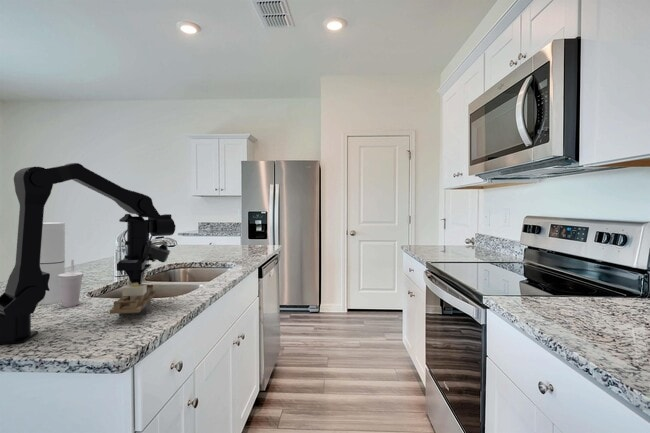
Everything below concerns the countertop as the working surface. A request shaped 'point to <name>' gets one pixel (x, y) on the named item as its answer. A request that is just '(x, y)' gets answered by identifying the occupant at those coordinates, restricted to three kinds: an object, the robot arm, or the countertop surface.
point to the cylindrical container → (53, 259)
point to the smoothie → (70, 286)
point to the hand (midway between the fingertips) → (137, 289)
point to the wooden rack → (134, 304)
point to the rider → (134, 290)
